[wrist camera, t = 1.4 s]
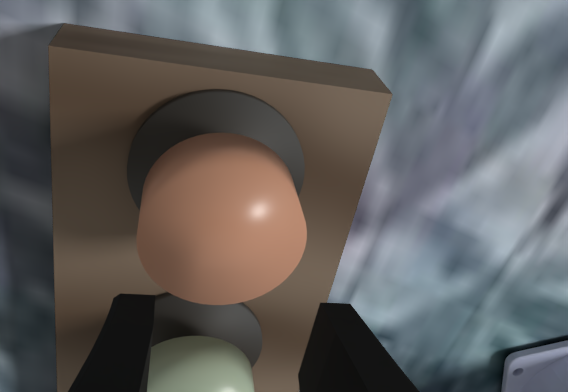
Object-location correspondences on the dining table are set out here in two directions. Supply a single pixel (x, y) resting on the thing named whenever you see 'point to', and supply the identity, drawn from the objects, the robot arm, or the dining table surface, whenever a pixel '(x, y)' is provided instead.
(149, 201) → the button terracotta
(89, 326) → the button panel
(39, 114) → the dining table surface
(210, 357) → the button sage
